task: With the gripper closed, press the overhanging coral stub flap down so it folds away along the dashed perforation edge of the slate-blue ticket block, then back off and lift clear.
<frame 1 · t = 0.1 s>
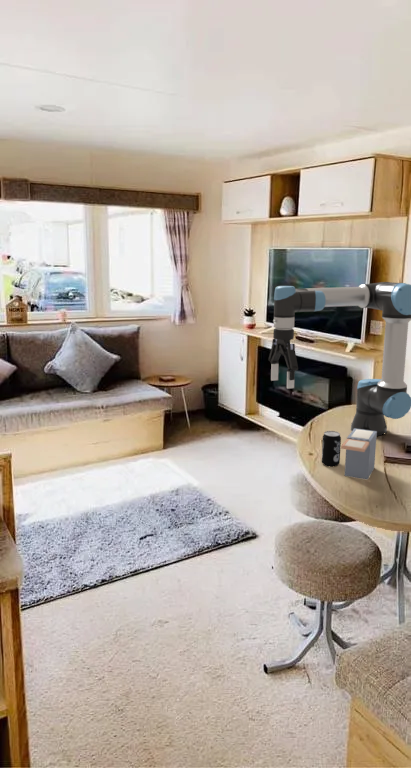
hand: (282, 384, 211), 28 cm above the table, fingers open, 13 cm apart
ticket block: (359, 471, 200), on the table
beverage can: (330, 464, 207), on the table
stub: (355, 445, 187), point 14 cm above the table, hinge at 0.0°
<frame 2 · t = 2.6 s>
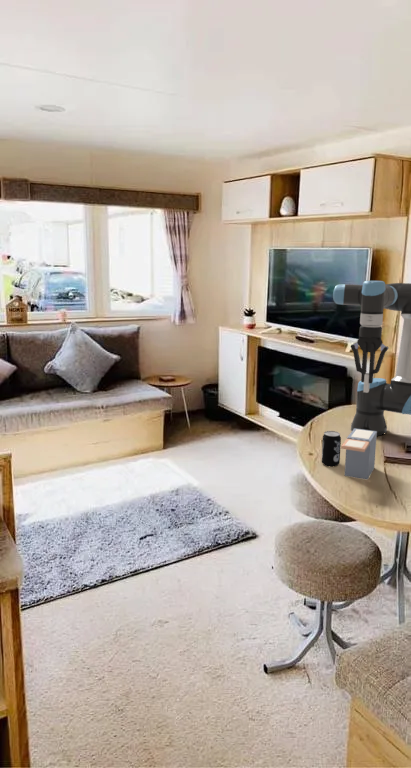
hand: (366, 391, 199), 28 cm above the table, fingers closed
nothing on the table moved.
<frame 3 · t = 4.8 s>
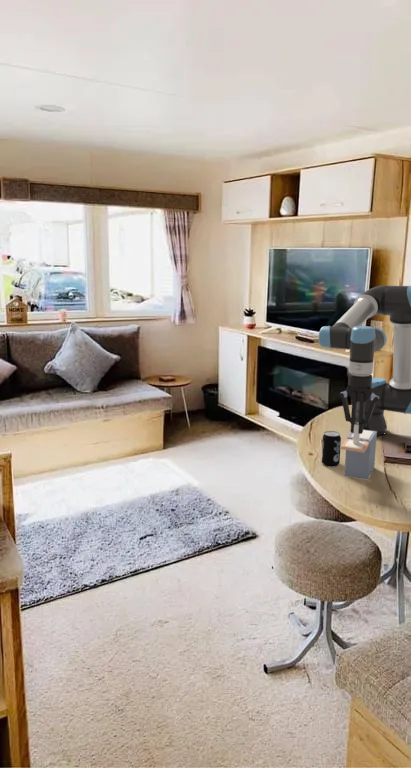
hand: (356, 442, 188), 14 cm above the table, fingers closed
stub: (355, 445, 187), point 13 cm above the table, hinge at 1.5°, touching gripper
everything else where it was.
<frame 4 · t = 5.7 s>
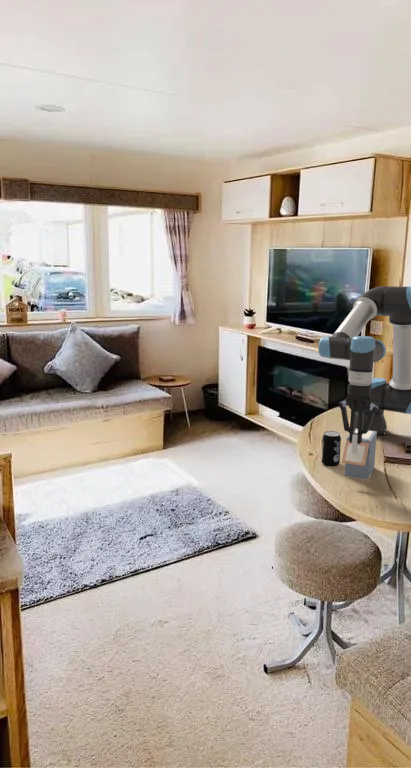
hand: (354, 452, 188), 11 cm above the table, fingers closed
stub: (355, 453, 189), point 10 cm above the table, hinge at 49.0°, touching gripper
everything else where it was.
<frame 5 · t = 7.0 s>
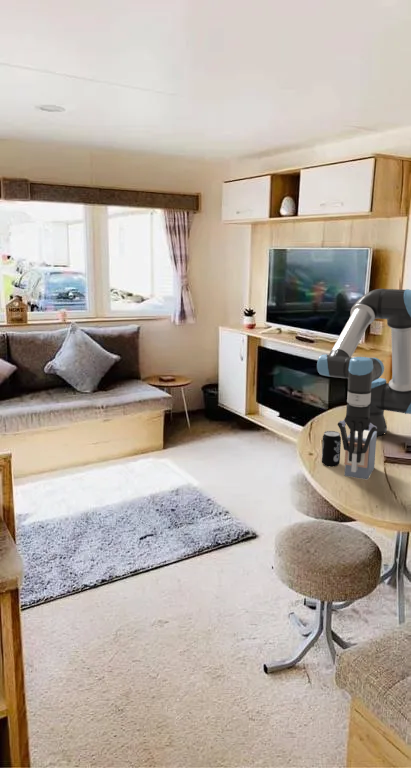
hand: (354, 470, 190), 4 cm above the table, fingers closed
stub: (356, 454, 191), point 9 cm above the table, hinge at 85.5°, touching gripper
everything else where it was.
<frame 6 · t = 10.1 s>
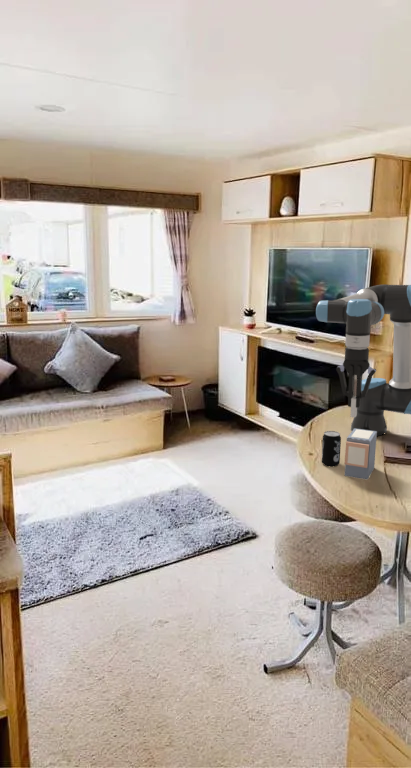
hand: (353, 416, 187), 23 cm above the table, fingers closed
stub: (356, 454, 191), point 9 cm above the table, hinge at 86.5°
everything else where it was.
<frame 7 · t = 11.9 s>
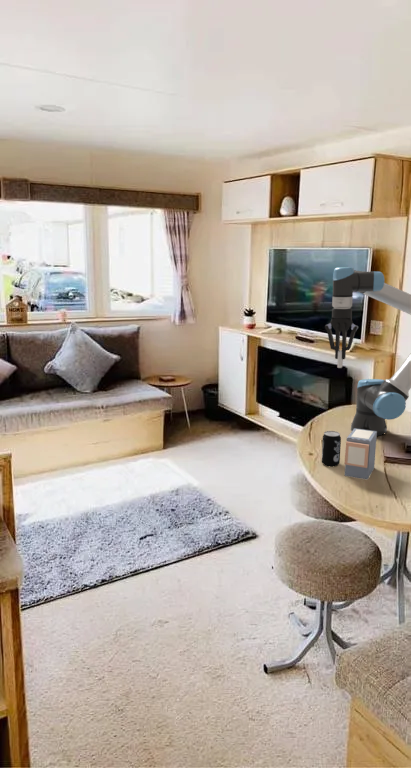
hand: (339, 367, 222), 32 cm above the table, fingers closed
nothing on the table moved.
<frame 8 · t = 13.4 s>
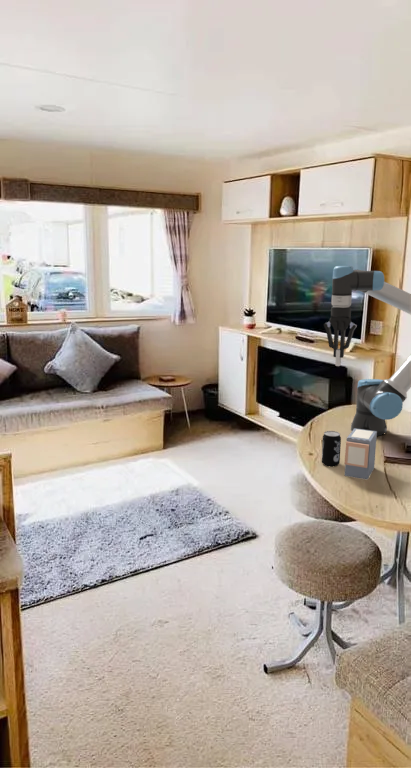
hand: (338, 365, 223), 32 cm above the table, fingers closed
nothing on the table moved.
at the end: stub at +86° (first picture: +0°); the gripper is holding nothing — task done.
